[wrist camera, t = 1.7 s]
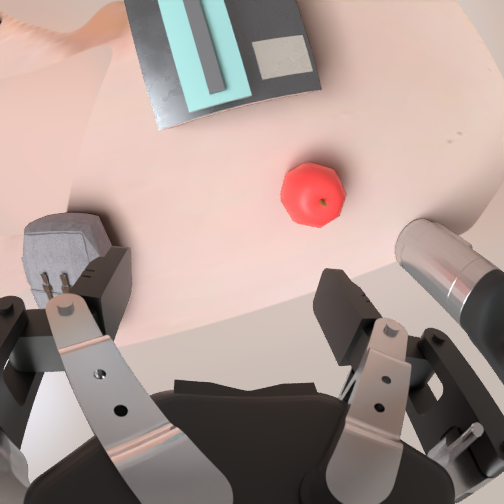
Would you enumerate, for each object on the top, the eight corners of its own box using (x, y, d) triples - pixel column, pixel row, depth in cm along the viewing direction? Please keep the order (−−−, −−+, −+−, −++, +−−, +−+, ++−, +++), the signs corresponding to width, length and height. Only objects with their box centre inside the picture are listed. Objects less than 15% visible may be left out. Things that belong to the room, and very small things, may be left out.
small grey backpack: (30, 210, 33) (59, 320, 41) (-1, 232, 25) (41, 352, 34) (118, 205, 35) (136, 325, 44) (95, 228, 28) (126, 362, 36)
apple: (343, 181, 37) (371, 197, 30) (308, 226, 40) (328, 252, 32) (299, 145, 35) (320, 153, 27) (261, 194, 37) (273, 214, 30)
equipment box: (260, -29, 23) (276, -68, 14) (299, 94, 32) (330, 87, 22) (136, 0, 23) (112, -32, 14) (171, 127, 32) (154, 131, 22)
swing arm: (147, -46, 14) (142, -58, 11) (199, -60, 14) (199, -73, 11) (191, 112, 22) (188, 112, 20) (248, 97, 22) (252, 94, 20)
